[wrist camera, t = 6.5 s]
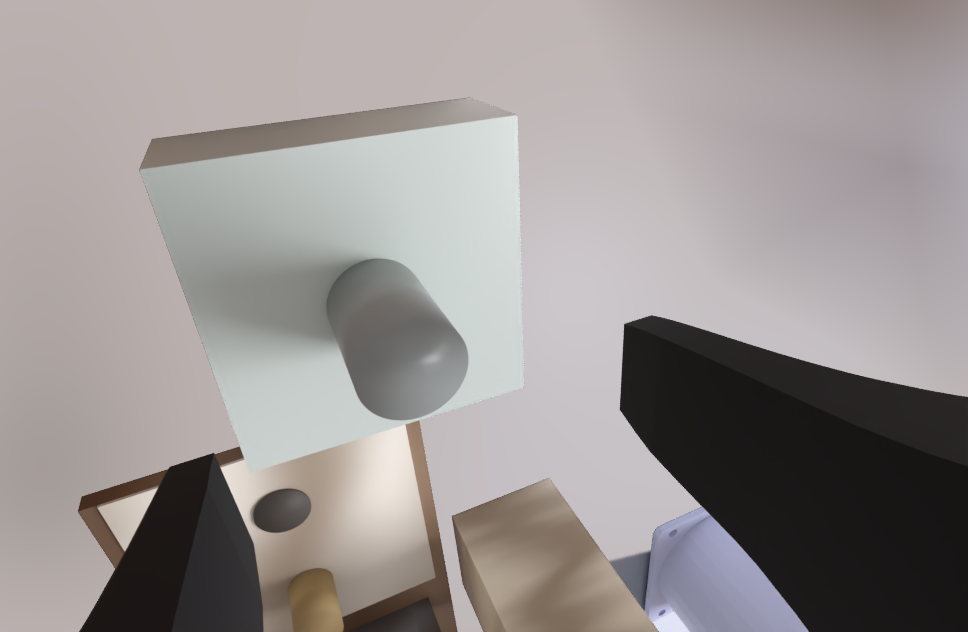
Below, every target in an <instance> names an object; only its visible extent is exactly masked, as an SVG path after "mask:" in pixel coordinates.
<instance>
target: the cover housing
mask: <svg viewBox="0 0 968 632" xmlns="http://www.w3.org/2000/svg"><path fill="white" fill-rule="evenodd" d="M517 119H518V118H517V115H516V114H513V113H511V112H508V111H505V110H502V109H500V108H497V107H494V106H492V105H489V104H486V103H484V102H481V101H478V100H475V99H473V98H463V99H455V100H447V101H440V102H433V103H424V104H418V105H409V106H402V107H394V108H387V109H378V110H371V111H363V112H355V113H348V114H340V115H332V116H325V117H317V118H309V119H302V120H294V121H286V122H279V123H271V124H264V125H256V126H249V127H241V128H233V129H225V130H218V131H210V132H202V133H195V134H187V135H179V136H172V137H164V138H156V139H152V141H151V143H150V145H149V148H148V150H147V153H146V155H145V157H144V160H143V162H142V164H141V167H140V169H139V170H140V173H141V176H142V179H143V181H144V184H145V187H146V190H147V193H148V195H149V198H150V201H151V203H152V206H153V209H154V212H155V214H156V217H157V220H158V223H159V226H160V228H161V231H162V234H163V236H164V239H165V242H166V245H167V248H168V250H169V253H170V256H171V259H172V261H173V264H174V267H175V270H176V272H177V275H178V278H179V280H180V283H181V286H182V289H183V292H184V294H185V297H186V300H187V303H188V305H189V308H190V311H191V313H192V316H193V319H194V322H195V325H196V327H197V330H198V333H199V336H200V338H201V341H202V344H203V346H204V349H205V352H206V354H207V358H208V360H209V363H210V366H211V369H212V371H213V374H214V377H215V380H216V382H217V385H218V388H219V391H220V393H221V396H222V398H223V402H224V404H225V407H226V410H227V413H228V415H229V418H230V421H231V423H232V426H233V429H234V432H235V435H236V437H237V440H238V443H239V446H240V448H241V451H242V454H243V457H244V459H245V462H246V465H247V468H248V470H249V473H252V472H255V471H258V470H261V469H264V468H268V467H271V466H274V465H277V464H280V463H284V462H287V461H290V460H293V459H296V458H300V457H303V456H306V455H309V454H313V453H316V452H319V451H322V450H325V449H329V448H332V447H335V446H338V445H341V444H345V443H348V442H351V441H354V440H357V439H361V438H364V437H367V436H370V435H374V434H377V433H380V432H383V431H386V430H390V429H393V428H396V427H399V426H402V425H406V424H409V423H412V422H415V421H418V420H422V419H425V418H428V417H431V416H434V415H438V414H441V413H444V412H447V411H451V410H454V409H457V408H460V407H463V406H466V405H470V404H473V403H476V402H479V401H483V400H486V399H489V398H492V397H495V396H499V395H502V394H505V393H508V392H511V391H515V390H518V389H521V388H524V365H523V364H524V363H523V327H522V325H523V323H522V282H521V242H520V200H519V161H518V120H517Z"/></svg>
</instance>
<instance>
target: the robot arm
mask: <svg viewBox="0 0 968 632" xmlns="http://www.w3.org/2000/svg"><path fill="white" fill-rule="evenodd" d="M621 379H622V380H621V398H620V411H621V412H622V413H623V415H624V416H625V418H626V419H627V420H628V422H629V423H630V425H631V426H632V428H633V429H634V431H635V432H636V433H637V434H638V436H639V437H640V439H641V440H642V441H643V443H644V444H645V445H646V447H647V448H648V449H649V451H650V452H651V453H652V454H653V455H654V456H655V457H656V458H657V460H658V461H659V462H660V463H661V464H662V465H663V466H664V467H665V468H666V469H667V470H668V471H669V472H670V473H671V474H672V476H673V477H674V478H675V479H676V480H677V481H678V482H679V483H680V484H681V485H682V486H683V487H684V488H685V489H686V490H687V491H688V492H689V493H690V494H691V495H692V496H693V497H694V499H695V500H696V501H697V502H698V503H699V504H700V505H701V506H702V507H700V508H698V509H696V510H694V511H692V512H689V513H687V514H685V515H683V516H681V517H678V518H676V519H674V520H672V521H669V522H667V523H665V524H663V525H661V526H659V527H658V528H657V529H655V531H654V533H653V538H652V547H651V556H650V565H649V574H648V583H647V593H646V602H645V611H644V612H645V613H646V614H647V616H648V617H649V619H650V620H651V621H652V622H653V621H655V620H657V619H659V618H661V617H663V616H665V615H667V614H669V613H671V612H673V611H675V613H676V614H677V615H678V617H679V618H680V619H681V621H682V622H683V623H684V625H685V626H686V627H687V628H688V630H689V631H690V632H968V397H964V396H957V395H951V394H946V393H940V392H934V391H929V390H924V389H919V388H914V387H909V386H905V385H900V384H895V383H890V382H885V381H881V380H876V379H872V378H867V377H863V376H859V375H855V374H851V373H847V372H843V371H839V370H835V369H832V368H828V367H825V366H821V365H817V364H813V363H810V362H806V361H803V360H799V359H796V358H792V357H789V356H786V355H782V354H778V353H776V352H772V351H769V350H766V349H762V348H759V347H756V346H753V345H750V344H746V343H743V342H740V341H737V340H734V339H731V338H727V337H725V336H722V335H718V334H715V333H712V332H709V331H706V330H703V329H700V328H696V327H693V326H690V325H686V324H683V323H680V322H676V321H673V320H669V319H665V318H661V317H657V316H648V317H645V318H642V319H639V320H636V321H632V322H629V323H626V324H624V340H623V360H622V378H621ZM79 632H264V628H263V604H262V597H261V589H260V582H259V575H258V568H257V562H256V555H255V548H254V543H253V541H252V538H251V536H250V534H249V532H248V529H247V527H246V525H245V522H244V520H243V518H242V516H241V513H240V511H239V509H238V507H237V504H236V502H235V500H234V497H233V495H232V493H231V491H230V488H229V486H228V484H227V481H226V479H225V477H224V475H223V472H222V470H221V468H220V466H219V463H218V461H217V459H216V456H215V454H214V453H212V454H209V455H206V456H203V457H200V458H197V459H193V460H190V461H187V462H184V463H181V464H178V465H175V466H171V467H170V468H169V469H168V470H167V472H166V473H165V475H164V477H163V479H162V481H161V483H160V485H159V487H158V489H157V491H156V493H155V495H154V497H153V499H152V501H151V502H150V504H149V506H148V508H147V510H146V512H145V514H144V516H143V518H142V520H141V522H140V524H139V526H138V528H137V530H136V532H135V534H134V536H133V537H132V539H131V541H130V543H129V545H128V547H127V549H126V551H125V553H124V554H123V556H122V558H121V560H120V562H119V563H118V565H117V567H116V569H115V571H114V572H113V574H112V576H111V578H110V580H109V581H108V583H107V585H106V587H105V589H104V591H103V592H102V594H101V596H100V598H99V599H98V601H97V603H96V605H95V606H94V608H93V610H92V611H91V613H90V615H89V617H88V618H87V620H86V622H85V623H84V625H83V626H82V628H81V630H80V631H79Z"/></svg>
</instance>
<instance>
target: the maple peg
mask: <svg viewBox="0 0 968 632" xmlns="http://www.w3.org/2000/svg"><path fill="white" fill-rule="evenodd" d="M452 520H453V526H454V532H455V539H456V544H457V551H458V557H459V563H460V570H461V576H462V582H463V585H464V588H465V590H466V592H467V595H468V597H469V599H470V601H471V604H472V606H473V608H474V611H475V613H476V615H477V617H478V620H479V622H480V625H481V627H482V629H483V632H659V631H658V630H657V628H656V627H655V626H654V624H653V623H652V621H651V620H650V619H649V617H648V616H647V614H646V613H645V612H644V610H643V609H642V607H641V606H640V605H639V603H638V602H637V600H636V599H635V597H634V596H633V595H632V593H631V592H630V590H629V589H628V588H627V586H626V585H625V583H624V582H623V581H622V579H621V578H620V576H619V575H618V574H617V572H616V571H615V569H614V568H613V567H612V565H611V564H610V562H609V561H608V560H607V558H606V557H605V555H604V554H603V553H602V551H601V550H600V548H599V547H598V546H597V544H596V543H595V541H594V540H593V539H592V537H591V536H590V534H589V533H588V532H587V530H586V529H585V527H584V526H583V524H582V523H581V522H580V520H579V519H578V518H577V516H576V515H575V513H574V512H573V510H572V509H571V508H570V506H569V505H568V503H567V502H566V501H565V499H564V498H563V496H562V495H561V494H560V492H559V491H558V489H557V488H556V487H555V485H554V484H553V482H552V481H551V480H550V478H548V479H545V480H543V481H540V482H538V483H535V484H532V485H530V486H527V487H525V488H522V489H520V490H517V491H515V492H512V493H510V494H507V495H504V496H502V497H499V498H497V499H494V500H492V501H489V502H486V503H484V504H481V505H479V506H477V507H474V508H471V509H469V510H466V511H464V512H461V513H459V514H456V515H453V516H452Z"/></svg>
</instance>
